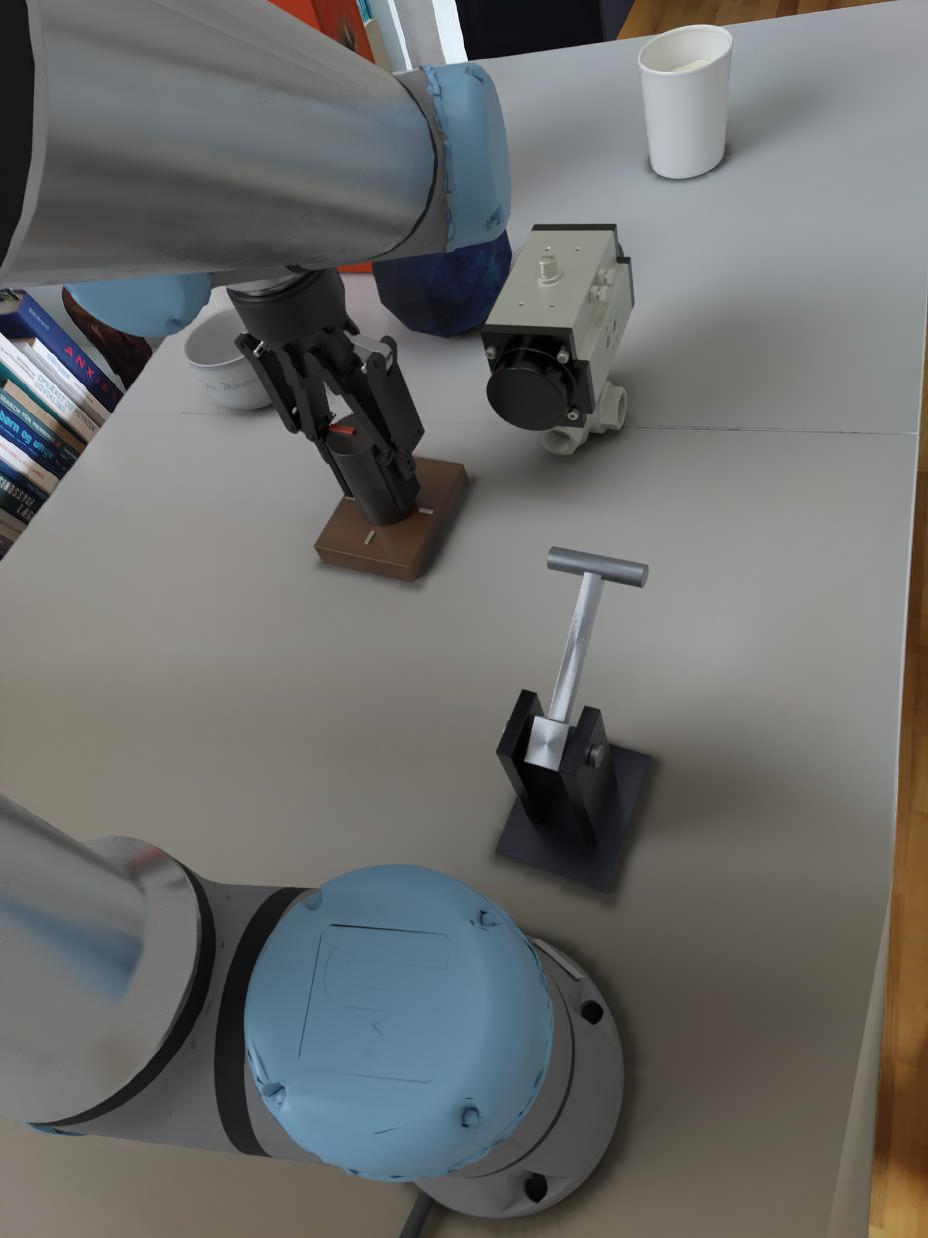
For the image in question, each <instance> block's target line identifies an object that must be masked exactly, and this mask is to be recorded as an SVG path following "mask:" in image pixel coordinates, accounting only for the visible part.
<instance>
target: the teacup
mask: <svg viewBox="0 0 928 1238" xmlns="http://www.w3.org/2000/svg"><path fill="white" fill-rule="evenodd" d="M244 328H245V325H244V323H243V322H242V320H241V318H240V316H239V314H238V312H237V310H236V309H235V307H234V305H233V304H231V305H227V306H225V307H223V308H221V309H219V310H217V311H215V312H213V313H211V314H210V315H208V316H207V317H205V318H203V319H202V320H201V321H199V323H197V324H196V325H195V326H194V327H193V328H192V329H191V330H190V331H189V332H188V334H187V336H186V337H185V340H184V341H183V344H182V347H181V350H182V351H181V352H182V356H183V358H184V360H185V361H186V362H187V364H189V366H190V368H191V369H192V371H193V373H194V374H195V376H196V378H197V379H198V381H199V383H200V384H201V386H202V387H203V389H204V390H205V391H206V393H207V395H209V397H211V398H212V399H213V401H215V402H216V403H217V404H219V405H221V406H223V407H224V408H225V407H226V408H228V409H236V410H243V411H252V410H258V409H261V408H264V407H266V406H268V405H271V404H273V403H272V401H271V400H270V398H269V396H268V394H267V392H266V390H265V389H264V387H263V385H262V383H261V381H260V379H259V378H258V376H257V374H256V372H255V370H254V368H253V367H252V365H251V363H250V362H249V361H248V360H247V359H246V357H245V356H244V355H243V354H242V353H241V352H240V350H239V349H238V348H237V347H236V345H235V343H234V340H235V339H236V338H237V336H238V335H239V334H240V333H241V332H242V330H243V329H244Z"/></svg>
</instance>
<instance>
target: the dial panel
mask: <svg viewBox="0 0 928 1238" xmlns="http://www.w3.org/2000/svg"><path fill="white" fill-rule="evenodd" d="M413 458H414V461H415V463H416V470H415V475H416V477H417V480H418V482H419V484H420V487H421V489H420V490H419V492H418V494H417V495H416V497H415V503H414V506H413V508H412V510H411V512H410V513H409V514H408V515H407V516H406V517H405V518H403V519H402V520H400V521H399V522H397V523H394V524H391V525H386V526H379V525H374V524H372V523H370V522H368V521H367V520H366V519H365V517H364V516H363V514H362V512H361V510H360V508H359V506H358V504H357V502H356V500H355V498H354V497H353V498H349V497H346V496H345V494H344V493H343V496H342V498H341V499H340V501H339V503H338V504H337V505H336V507H335V509H334V511H333V513H332V514H331V516H330V517H329V519H328V521H327V523H326V524H325V526H324V528H323V529H322V531H321V532H320V534H319V536H318V538H317V539H316V541H315V543H314V544H313V546H312V547H313V549H314V550H315V552H316V553H317V555H318V556H319V558H320V560H321V561H322V564H323V563H324V564H327V565H332V566H337V567H339V568H340V567H342V568H346V569H349V570H353V571H354V570H355V571H358V572H364V573H367V574H372V575H376V576H381V577H384V578H390V579H395V580H399V581H403V582H408V583H412V584H414V583H415V582H416V580H417V578H418V575H419V574H420V572H421V570H422V568H423V567H424V564H425V562H426V561H427V559H428V557H429V555H430V554H431V553H430V552H431V551H432V549H433V547H434V545H435V543H436V541H437V540H438V538H439V535H440V533H441V532H442V530H443V528H444V526H445V524H446V523H447V520H448V518H449V517H450V515H451V512H452V510H453V509H454V507H455V505H456V503H457V501H458V499H459V497H460V495H461V494H462V491H463V489H464V488H465V487H469V485H470V479H469V476H468V471H467V470H466V467H465V463H460V462H453V461H448V460H442V459H441V460H440V459H436V458H435V459H434V458H428V457H423V456H416V455H413Z"/></svg>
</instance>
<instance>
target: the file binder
mask: <svg viewBox="0 0 928 1238" xmlns="http://www.w3.org/2000/svg"><path fill="white" fill-rule="evenodd" d="M267 1H269V2H271V3H272V4H274V5H276V6H277V7H279V8H281V9H282V10H284V11H286V12H287V13H289V14H291V15H292V16H294V17H296V18H297V19H299V20H301V21H302V22H304V23H306V24H307V25H309V26H311V27H313V28H314V29H316V30H318V31H319V32H321V33H323V34H324V35H326V36H328V37H329V38H331V39H333V40H334V41H336V42H338V43H339V44H341V45H343V46H344V47H346V48H348V49H349V50H351V51H353V52H354V53H356V54H358V55H360V56H361V57H363V58H365V59H366V60H368V61H370V62H371V63H373V64H375V65H376V63H375V60H374V56H373V53H372V50H371V47H370V43H369V40H368V37H367V33H366V30H365V27H364V21H363V18H362V14H361V10H360V7H359V5H358V1H357V0H267ZM337 269H338V271H339V273H354V274H355V273H356V274H357V273H358V274H359V273H360V274H361V273H363V274H365V273H366V274H373V271H372V262H369V263H362V264H355V265H347V266H340V267H337Z"/></svg>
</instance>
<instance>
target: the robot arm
mask: <svg viewBox="0 0 928 1238" xmlns="http://www.w3.org/2000/svg"><path fill="white" fill-rule="evenodd" d="M418 68H419V69H416V70H412V71H408V72H404V73H399V74H393V75H391V74H390V73H388V72H386V71H385V70H383V69H381V68H380V67H378V66H376V65H375V64H373V63H371V62H370V61H368V60H366V59H365V58H363V57H361V56H360V55H358V54H356V53H354V52H353V51H351V50H349V49H348V48H346V47H344V46H343V45H341V44H339V43H338V42H336V41H334V40H333V39H331V38H329V37H328V36H326V35H324V34H323V33H321V32H319V31H318V30H316V29H314V28H313V27H311V26H309V25H307V24H306V23H304V22H302V21H301V20H299V19H297V18H296V17H294V16H292V15H291V14H289V13H287V12H286V11H284V10H282V9H281V8H279V7H277V6H276V5H274V4H272V3H271V2H269V1H267V0H0V290H8V289H9V290H11V289H21V288H22V289H23V288H33V287H45V286H47V287H48V286H58V285H62V286H63V287H64V289H66V290H67V292H69V293H70V295H71V297H72V298H73V300H74V301H75V302H76V303H77V305H78V306H80V307H81V308H82V309H83V310H84V311H86V312H87V313H88V314H89V315H91V316H92V317H94V318H95V319H96V320H98V321H100V323H102V324H105V325H107V326H109V327H110V328H113V329H114V330H117V331H120V332H122V333H125V334H128V335H131V336H136V337H141V338H151V339H152V338H153V339H157V338H165V337H171V336H174V335H176V334H179V332H181V331H184V330H185V329H186V328H187V327H188V326H190V325H192V323H193V322H194V320H196V319H197V317H198V316H199V315H200V313H201V311H202V309H203V308H204V307H205V306H208V304H209V303H210V299H211V296H212V290H214V289H216V288H219V287H225V289H226V294H227V296H228V298H229V299H230V301H231V303H232V305H234V307H235V309H236V310H237V312H238V314H239V316H240V318H241V320H242V322H243V323H244V325H245V328H244V329H243V330H242V332H241V333H240V334H239V335H238V336H237V338H236V339H235V340H234V343H235V345H236V347H237V348H238V349H239V350H240V352H241V353H242V354H243V355H244V356H245V357H246V359H247V360H248V361H249V362H250V363H251V365H252V367H253V368H254V370H255V372H256V374H257V376H258V378H259V379H260V381H261V383H262V385H263V387H264V389H265V390H266V392H267V394H268V396H269V398H270V400H271V401H272V403H271V404H272V405H273V407H274V409H275V411H276V413H277V414H278V416H279V418H280V420H281V422H282V424H283V426H284V427H285V429H286V430H287V431H288V432H289V433H291V434H293V435H296V434H299V432H301V433H303V434H304V435H305V438H306V439H307V440H308V441H309V442H311V443H314V445H315V447H316V449H317V451H318V452H319V454H320V456H321V458H322V460H323V461H324V462H325V463H326V465H328V466H329V467H330V469H331V471H332V473H333V475H334V477H335V479H336V481H337V483H338V484H339V486H340V488H341V491H342V492H343V495H344V494H345V496H346V497H349V498H353V497H354V496H353V494H352V492H351V491H350V489H349V487H348V485H347V483H346V481H345V479H344V477H343V475H342V473H341V471H340V469H339V467H338V465H337V464H336V462H335V460H334V458H333V456H332V454H331V452H330V450H329V448H328V446H327V435H328V433H329V431H330V430H329V429H328V428H329V426H330V425H331V424H332V422H333V421H334V419H335V418H336V417H337V413H336V412H334V411H331V408H330V404H329V400H328V394H327V390H326V386H327V388H328V389H329V390H330V392H331V393H332V394H333V395H334V396H341V398H342V399H343V400H344V402H345V403H346V405H347V406H348V407H349V409H350V410H351V412H352V413H354V414H355V416H356V417H357V419H358V420H359V421H360V423H361V424H362V426H363V427H364V428H365V430H366V431H367V433H368V434H369V435H370V437H371V438H372V440H373V441H374V442H375V444H376V445H377V447H378V448H379V449H380V452H379V453H378V455H377V456H376V459H377V461H378V463H379V465H380V468H381V470H382V472H383V474H384V476H385V478H386V481H387V483H388V485H389V487H390V489H391V492H392V494H393V496H394V498H395V500H396V502H397V505H398V507H399V509H401V510H405V511H407V510H408V508H409V507H410V505H411V503H412V502H413V500H414V499H415V497H416V495H417V494H418V492H419V490H420V489H421V487H420V484H419V482H418V480H417V477H416V475H415V470H416V463H415V461H414V458H413V456H414V455H413V452H414V451H415V449H416V448H417V446H418V445H419V443H420V442H421V439H422V438H423V436H424V434H425V432H426V431H425V428H424V425H423V423H422V420H421V417H420V415H419V413H418V410H417V408H416V404H415V403H414V400H413V397H412V395H411V392H410V390H409V387H408V384H407V383H406V380H405V377H404V375H403V372H402V370H401V368H400V367H401V366H400V364H399V362H398V343H397V341H396V339H394V338H393V337H392V336H390V335H388V334H387V335H383V336H382V337H381V339H380V340H379V341H377V340H375V339H372V338H369V337H367V336H364V335H362V334H361V330H360V328H359V326H358V325H357V324H356V322H355V321H353V319H351V317H350V315H349V314H348V312H347V307H346V288H345V284H344V281H343V279H342V277H341V274H340V272H339V271H338V269H337V267H340V266H347V265H355V264H362V263H369V262H376V261H383V260H390V259H397V258H404V257H411V256H418V255H425V254H432V253H439V252H440V253H447V252H453V251H454V250H455V249H457V248H461V247H466V246H470V245H475V244H480V243H485V242H489V241H492V240H494V239H496V238H498V237H499V236H500V235H501V234H502V233H503V231H504V230H505V228H506V229H507V226H508V223H509V219H510V216H511V209H512V174H511V161H510V152H509V145H508V138H507V131H506V126H505V124H506V123H505V120H504V115H503V109H502V105H501V101H500V98H499V94H498V91H497V89H496V86H495V83H494V81H493V79H492V76H490V74H489V73H488V71H487V70H486V69H485V68H483V67H482V65H480V64H478V63H475V62H470V61H467V62H460V63H453V64H452V63H451V64H445V65H437V66H433V65H432V64H429V63H426V64H422V65H419V66H418ZM294 409H295V410H294ZM293 410H294V412H293ZM624 1094H625V1062H624V1053H623V1047H622V1043H621V1038H620V1034H619V1031H618V1027H617V1024H616V1022H615V1019H614V1017H613V1015H612V1011H611V1009H610V1008H609V1005H608V1004H607V1002H606V999H605V997H604V996H603V994H602V992H601V991H600V989H599V988H598V987H597V985H596V984H595V982H594V981H593V979H592V978H591V976H589V974H588V973H587V972H586V971H585V970H584V969H583V967H581V966H580V964H579V963H578V962H576V961H575V960H574V959H573V958H572V957H571V956H570V955H568V954H567V953H565V952H564V951H563V950H561V949H559V948H558V947H557V946H555V945H553V944H552V943H550V942H547V941H545V940H543V939H541V938H538V937H536V936H533V935H530V934H528V933H527V934H526V933H524V932H523V931H522V929H521V928H520V927H519V926H518V925H517V924H516V922H515V921H514V919H513V918H512V916H511V915H510V914H509V913H508V912H507V911H506V910H505V909H503V908H502V907H501V906H500V905H499V904H498V903H496V901H494V900H491V899H490V898H488V897H486V895H485V894H483V892H480V891H477V890H476V889H474V888H473V887H472V886H470V885H469V884H467V883H465V882H463V881H462V880H460V879H458V878H455V877H454V876H451V875H449V874H447V873H445V872H441V871H440V870H436V869H432V868H430V867H425V866H419V865H414V864H406V863H390V864H389V863H388V864H387V863H385V864H377V865H375V864H374V865H370V866H364V867H360V868H357V869H354V870H351V871H347V872H345V873H343V874H340V875H337V876H336V877H333V878H332V879H329V880H327V881H326V882H324V883H322V884H321V885H320V887H296V886H281V885H280V886H277V885H254V884H234V883H233V884H231V883H230V884H229V883H223V882H218V881H213V880H210V879H207V878H204V877H202V876H201V875H200V874H198V873H197V872H195V871H194V870H192V869H191V868H190V867H188V866H187V865H185V864H184V863H182V862H181V861H180V860H179V859H177V858H175V857H173V856H172V855H170V854H169V853H168V852H166V851H165V850H163V849H162V848H160V847H158V846H157V845H154V844H153V843H150V842H148V841H145V840H143V839H139V838H136V837H130V836H124V835H113V836H111V835H109V836H101V837H93V838H90V839H86V840H82V841H79V840H77V839H75V838H74V837H72V836H71V835H69V834H67V833H66V832H65V831H62V830H60V829H59V828H58V827H56V826H54V825H52V824H51V823H50V822H48V821H47V820H44V819H43V818H41V817H39V816H38V815H36V814H35V813H33V812H32V811H30V810H29V809H27V808H25V807H23V806H22V805H20V804H19V803H17V802H16V801H14V800H12V799H11V798H9V797H8V796H6V795H4V794H2V793H1V792H0V1118H1V1119H5V1120H8V1121H11V1122H14V1123H18V1124H21V1125H25V1126H26V1127H27V1128H29V1129H30V1130H32V1131H34V1132H37V1133H40V1134H44V1135H53V1136H62V1137H85V1136H95V1137H97V1136H98V1137H105V1138H112V1139H120V1140H129V1141H136V1142H142V1143H143V1142H144V1143H151V1144H160V1145H167V1146H175V1147H183V1148H189V1149H199V1150H205V1151H213V1152H222V1153H228V1154H237V1155H244V1156H257V1157H265V1158H272V1159H278V1160H285V1161H292V1162H299V1163H307V1164H313V1165H322V1166H330V1167H337V1168H340V1169H341V1170H343V1171H344V1172H345V1173H346V1174H348V1175H352V1176H356V1177H359V1178H362V1179H367V1180H374V1181H378V1182H384V1183H409V1182H412V1183H413V1184H414V1185H415V1186H416V1187H417V1188H418V1189H419V1190H420V1192H419V1194H418V1196H417V1198H416V1200H415V1202H414V1204H413V1207H412V1209H411V1211H410V1213H409V1215H408V1217H407V1219H406V1221H405V1224H404V1226H403V1228H402V1230H401V1232H400V1234H399V1236H398V1238H419V1236H420V1234H421V1232H422V1230H423V1228H424V1226H425V1224H426V1221H427V1219H428V1217H429V1215H430V1212H431V1211H432V1208H433V1206H434V1205H435V1202H436V1203H438V1204H439V1205H441V1206H443V1207H445V1208H447V1209H449V1210H451V1211H454V1212H456V1213H460V1214H462V1215H465V1216H468V1217H472V1218H477V1219H484V1220H509V1219H515V1218H521V1217H526V1216H529V1215H533V1214H537V1213H539V1212H542V1211H544V1210H547V1209H549V1208H551V1207H552V1206H555V1205H556V1204H558V1203H560V1202H562V1201H564V1200H565V1198H567V1197H569V1196H570V1195H572V1194H573V1193H574V1192H575V1191H576V1190H577V1189H578V1188H580V1187H581V1186H582V1185H583V1184H584V1183H585V1181H586V1180H587V1179H588V1178H589V1177H590V1176H591V1175H592V1174H593V1172H594V1171H595V1169H596V1168H597V1166H598V1165H599V1164H600V1162H601V1161H602V1159H603V1157H604V1155H605V1154H606V1152H607V1151H608V1148H609V1146H610V1144H611V1143H612V1140H613V1138H614V1136H615V1132H616V1130H617V1126H618V1123H619V1119H620V1115H621V1112H622V1107H623V1100H624Z"/></svg>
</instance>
